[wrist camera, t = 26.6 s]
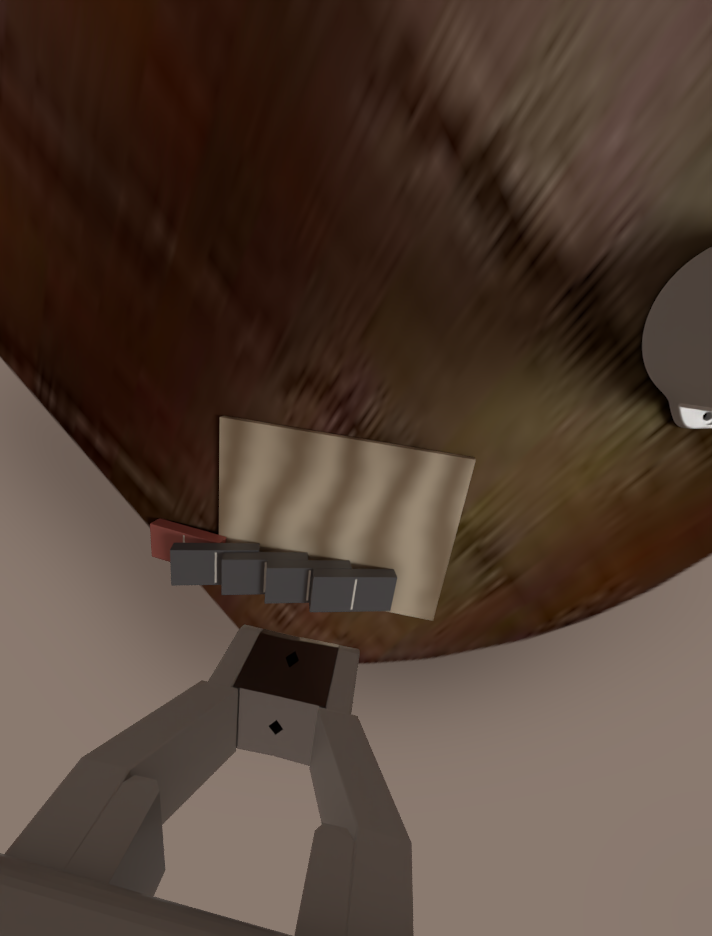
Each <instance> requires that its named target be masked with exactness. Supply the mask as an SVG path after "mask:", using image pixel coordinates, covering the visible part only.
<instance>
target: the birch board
mask: <svg viewBox="0 0 712 936" xmlns="http://www.w3.org/2000/svg"><path fill="white" fill-rule="evenodd" d="M475 461H476V459H475V458H474V457H470V456H464V455H458V454H452V453H446V452H440V451H434V450H428V449H422V448H416V447H410V446H404V445H398V444H392V443H386V442H380V441H374V440H368V439H362V438H356V437H350V436H344V435H338V434H332V433H326V432H320V431H314V430H307V429H301V428H295V427H289V426H283V425H277V424H271V423H265V422H259V421H253V420H247V419H241V418H235V417H229V416H221V417H220V440H219V535H221V536H225V537H226V543H260V550H259V552H307V553H308V560H348V561H350V564H351V567H352V569H394V571H395V573H396V575H397V582H396V587H395V591H394V596H393V601H392V606H391V610H390V611H387V612H392V613H397V614H402V615H407V616H412V617H417V618H422V619H427V620H432V621H433V618H434V614H435V611H436V607H437V603H438V599H439V596H440V592H441V588H442V584H443V581H444V577H445V573H446V569H447V566H448V562H449V558H450V554H451V551H452V547H453V543H454V539H455V536H456V532H457V528H458V524H459V521H460V517H461V513H462V509H463V506H464V502H465V498H466V494H467V491H468V487H469V483H470V479H471V476H472V472H473V468H474V464H475Z"/></svg>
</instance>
